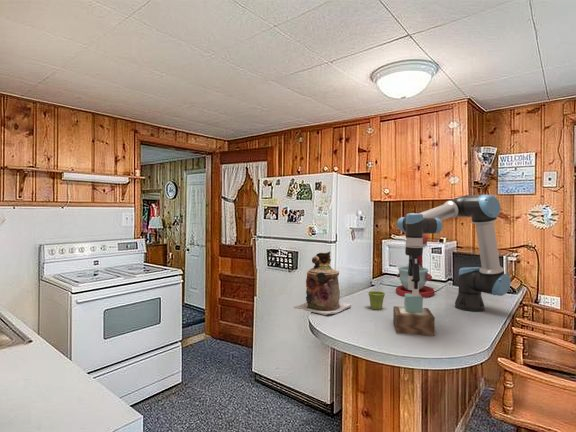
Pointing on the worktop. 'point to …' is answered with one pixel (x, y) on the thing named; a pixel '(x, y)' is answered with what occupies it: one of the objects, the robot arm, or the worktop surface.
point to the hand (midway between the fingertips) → (413, 292)
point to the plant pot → (376, 299)
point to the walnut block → (413, 321)
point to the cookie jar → (323, 288)
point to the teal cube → (413, 303)
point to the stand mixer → (423, 274)
